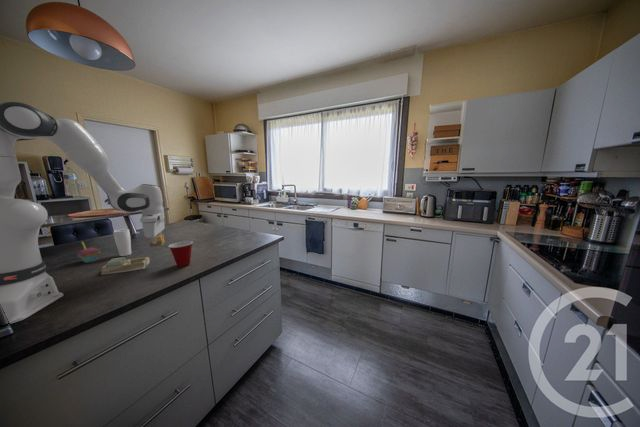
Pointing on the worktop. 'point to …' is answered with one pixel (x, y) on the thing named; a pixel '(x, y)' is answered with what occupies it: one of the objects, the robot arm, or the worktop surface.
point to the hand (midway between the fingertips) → (157, 241)
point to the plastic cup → (181, 252)
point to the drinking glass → (123, 241)
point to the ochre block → (158, 240)
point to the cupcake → (88, 254)
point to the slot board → (124, 265)
